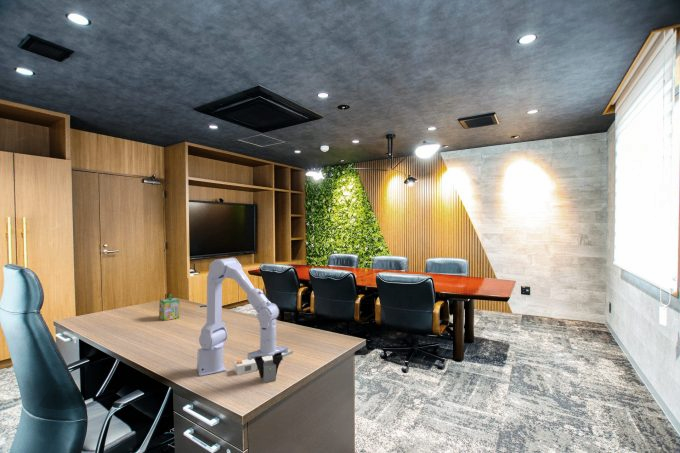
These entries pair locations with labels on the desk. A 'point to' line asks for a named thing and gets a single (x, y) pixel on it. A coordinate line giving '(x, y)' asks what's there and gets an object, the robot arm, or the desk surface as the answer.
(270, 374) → the block
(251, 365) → the power strip
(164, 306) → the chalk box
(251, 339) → the desk surface
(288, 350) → the hard drive
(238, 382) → the desk surface
